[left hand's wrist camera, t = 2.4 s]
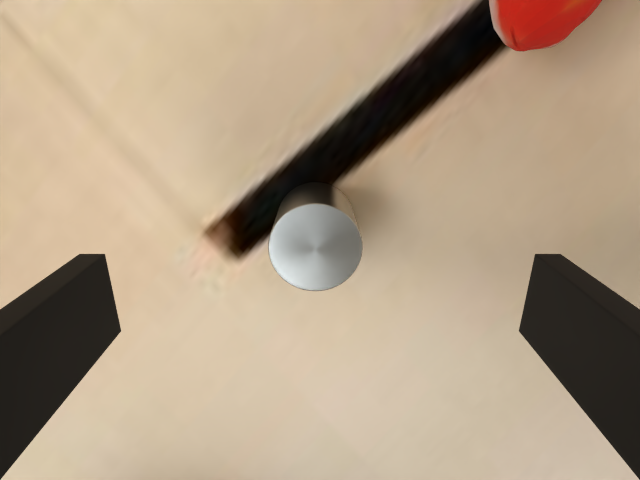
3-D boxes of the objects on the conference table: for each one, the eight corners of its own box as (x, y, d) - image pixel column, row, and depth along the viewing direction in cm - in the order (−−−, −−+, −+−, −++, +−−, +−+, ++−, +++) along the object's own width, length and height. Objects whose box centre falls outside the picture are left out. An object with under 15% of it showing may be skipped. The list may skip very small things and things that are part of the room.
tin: (337, 169, 20) (342, 188, 16) (364, 239, 21) (375, 272, 17) (264, 199, 21) (252, 224, 17) (295, 265, 22) (291, 303, 18)
